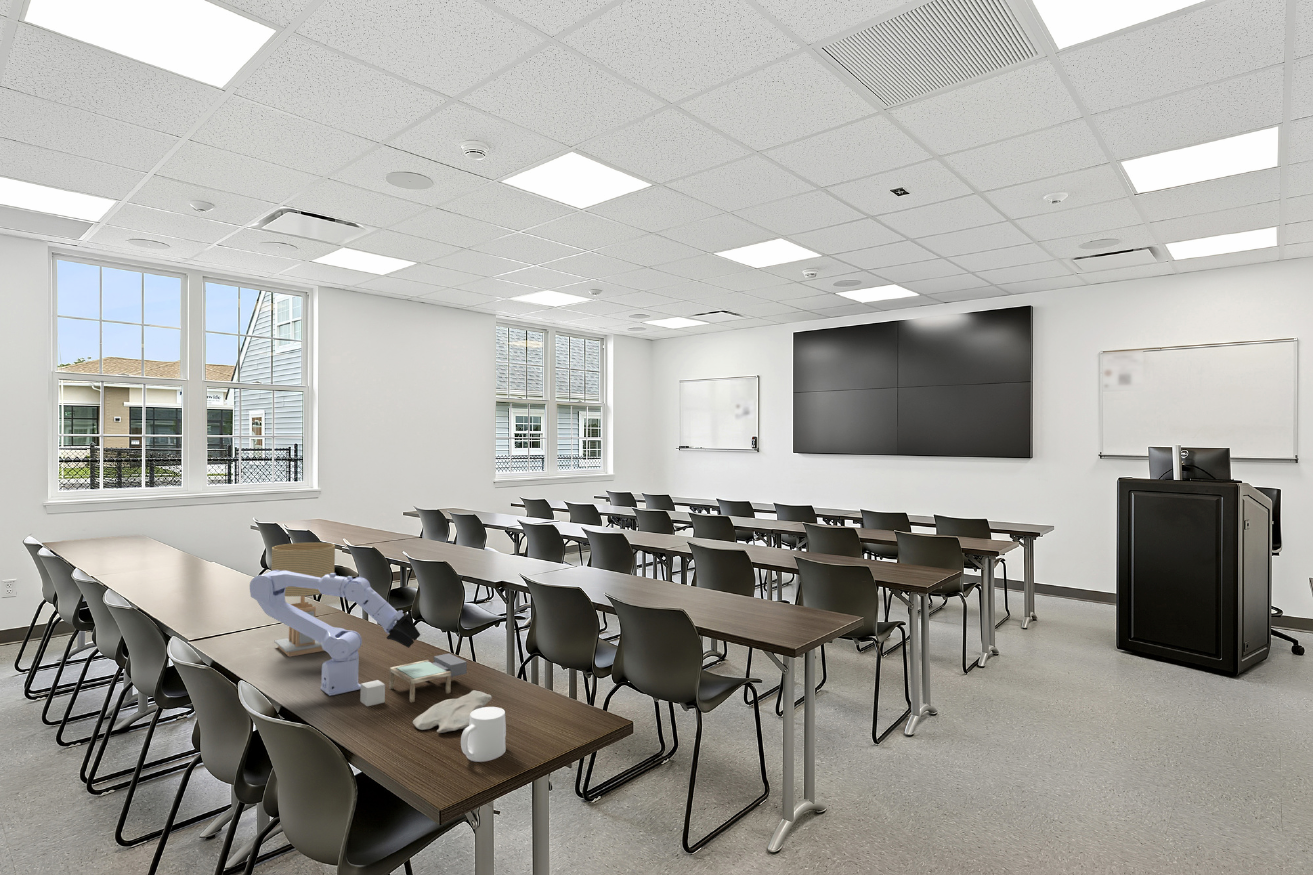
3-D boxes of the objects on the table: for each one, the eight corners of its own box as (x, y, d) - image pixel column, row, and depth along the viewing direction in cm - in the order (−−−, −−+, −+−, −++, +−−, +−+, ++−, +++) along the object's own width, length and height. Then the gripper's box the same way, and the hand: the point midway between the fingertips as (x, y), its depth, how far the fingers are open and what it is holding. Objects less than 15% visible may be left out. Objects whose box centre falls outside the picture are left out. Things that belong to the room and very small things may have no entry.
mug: (491, 703, 170) (514, 710, 166) (490, 741, 170) (513, 750, 166) (451, 718, 160) (475, 727, 156) (450, 759, 160) (474, 769, 156)
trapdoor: (448, 664, 217) (448, 652, 217) (467, 673, 208) (467, 662, 208) (396, 675, 205) (396, 663, 205) (414, 686, 197) (414, 673, 197)
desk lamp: (262, 647, 243) (265, 545, 243) (322, 638, 256) (325, 541, 256) (277, 661, 228) (280, 552, 229) (340, 650, 241) (342, 547, 242)
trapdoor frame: (427, 679, 213) (427, 659, 213) (450, 692, 203) (450, 671, 203) (389, 688, 205) (389, 667, 205) (411, 702, 195) (411, 680, 195)
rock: (510, 721, 184) (481, 699, 195) (510, 704, 184) (481, 683, 194) (433, 750, 169) (406, 725, 180) (433, 732, 169) (406, 708, 180)
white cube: (367, 706, 191) (367, 688, 191) (360, 701, 195) (360, 683, 195) (384, 702, 194) (385, 684, 195) (377, 697, 198) (378, 679, 198)
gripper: (395, 592, 203) (430, 624, 203) (384, 608, 213) (418, 638, 214) (377, 609, 198) (413, 642, 198) (367, 625, 208) (401, 655, 209)
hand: (414, 641), depth 206 cm, fingers open, 7 cm apart
